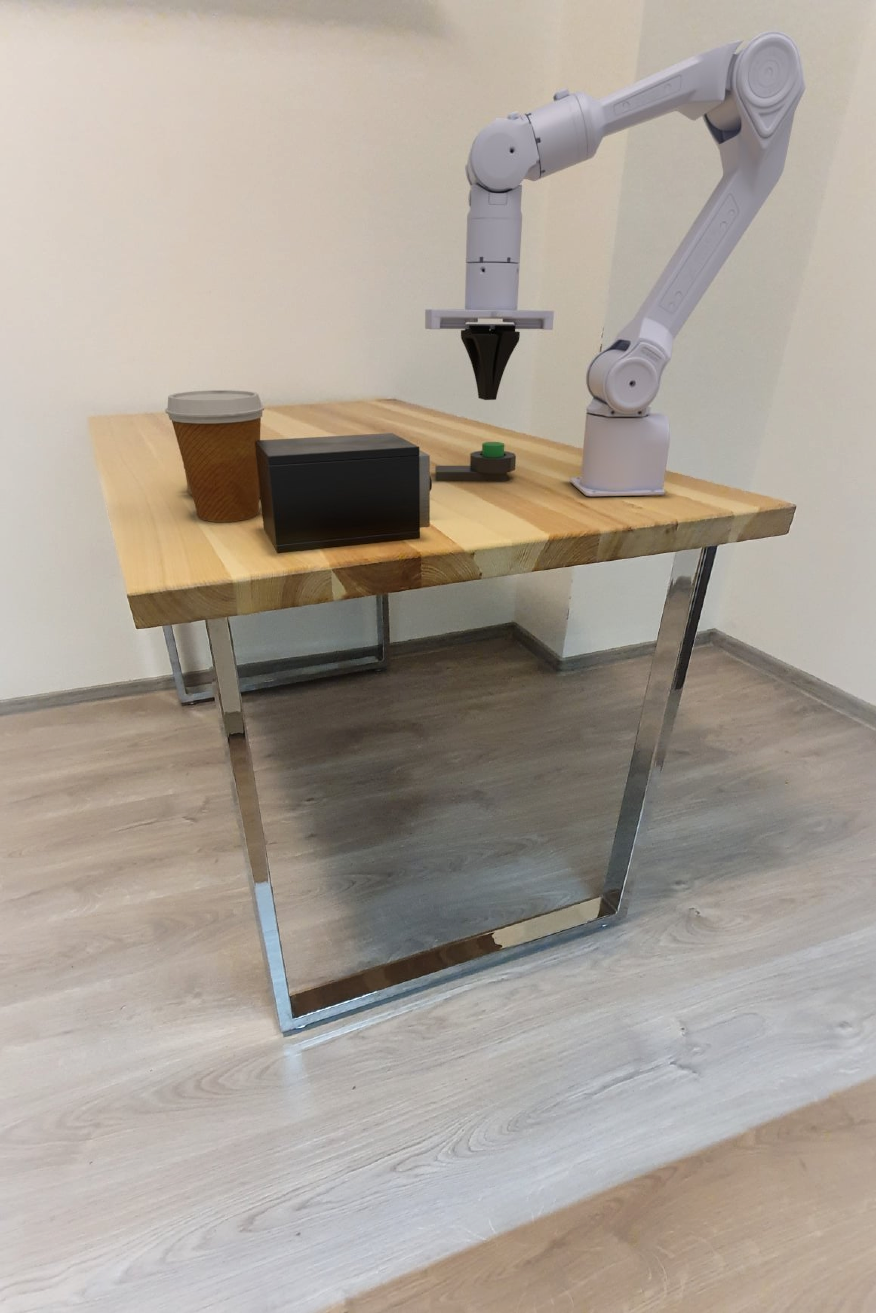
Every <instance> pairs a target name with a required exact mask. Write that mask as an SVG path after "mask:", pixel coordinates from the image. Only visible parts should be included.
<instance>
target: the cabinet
mask: <svg viewBox="0 0 876 1313" xmlns="http://www.w3.org/2000/svg"><path fill="white" fill-rule="evenodd" d="M255 449H256V460H257V470H258V479H259V489H260V497H259V499H260V506H261V516H262V517H261V518H262V525H263V526H262V527H263V530H264V532H265V534H266V536H267V538H268V539H269V541H270V543H271V544H272V547H273V548H274V550H275V552H276V554H286V553H297V552H306V551H314V550H317V551H318V550H324V549H334V548H343V547H344V548H345V547H352V546H353V547H354V546H355V547H356V546H364V545H373V544H382V543H383V544H384V543H392V542H402V541H403V542H404V541H410V540H420V539H421V528H420V457H419V455H420V451H419V450H420V446H418V445H416V444H415V443H412V442H411V441H408V440H407V439H405V438H403V437H401V436H399V435H397V434H395V433H393V432H385V433H383V432H382V433H368V434H366V433H365V434H351V435H350V434H349V435H331V436H312V437H311V436H310V437H293V438H277V439H276V438H275V439H260V440H255Z"/></svg>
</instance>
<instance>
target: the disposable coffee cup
mask: <svg viewBox="0 0 876 1313" xmlns="http://www.w3.org/2000/svg"><path fill="white" fill-rule="evenodd" d="M263 411H265V406H264V405H263V404H262V402H261V399H260V396H259V393H258V392H255V391H249V390H235V389H233V390H232V389H220V390H219V389H218V390H217V389H216V390H215V389H214V390H213V389H211V390H193V391H192V390H191V391H186V392H185V391H184V392H177V393H173V394H169V395H168V396H167V408H165V409H164V412H165V413H166V414H167V416H168V419H169V420H170V421H171V423H172V428H173V430H174V435H175V438H176V443H177V444H178V449H179V452H180V457H181V460H182V463H184V464H183V468H184V467H185V469H184V472H185V471H186V474H187V479H188V482H189V485H190V489H191V492H192V495H191V497H192V499H193V504H194V507H195V511H196V515H197V518H198V519H200V520H203V521H208V522H216V523H228V522H238V521H243V520H248V519H250V518H254V517H256V516H257V515H258V514H259V513H260V497H259V479H258V470H257V460H256V449H255V440H261V423H262V417H263ZM186 474H185V475H186Z"/></svg>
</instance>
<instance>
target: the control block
mask: <svg viewBox="0 0 876 1313" xmlns="http://www.w3.org/2000/svg"><path fill="white" fill-rule="evenodd" d="M516 463H517V456H516V454H515V453H514V452H512V451H507V450H504V456H502V457H486V456H482V450H477V451H473V452H470V453H469V465H435V467H434V468H435V469H434V470H435V471H434V472H435V473H434V474H435V475H434V476H435V478H434V479H435V482H507V480H508V473H512V472H514V471H516Z"/></svg>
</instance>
